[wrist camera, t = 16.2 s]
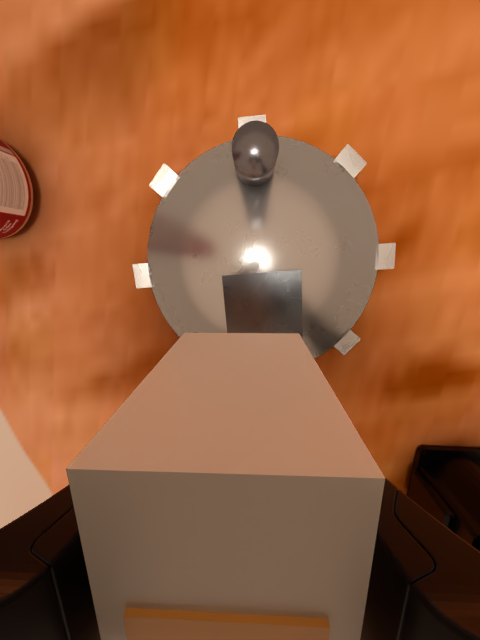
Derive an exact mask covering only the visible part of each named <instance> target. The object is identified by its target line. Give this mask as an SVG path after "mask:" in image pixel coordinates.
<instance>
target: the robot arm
mask: <svg viewBox="0 0 480 640" xmlns="http://www.w3.org/2000/svg"><path fill="white" fill-rule="evenodd" d="M425 452H426V453H425ZM423 453H424V454H423ZM0 640H101V637H100V632H99V627H98V622H97V617H96V612H95V607H94V603H93V598H92V593H91V588H90V583H89V578H88V573H87V568H86V564H85V559H84V554H83V549H82V544H81V539H80V534H79V529H78V525H77V520H76V515H75V510H74V505H73V500H72V495H71V491H70V486H69V485H68V486H66V487H65V488H63V489H62V490H61V491H59V492H58V493H56V494H55V495H53V496H52V497H50V498H49V499H47V500H46V501H44V502H43V503H41V504H40V505H38V506H37V507H35V508H33V509H32V510H30V511H28V512H27V513H25V514H24V515H22V516H20V517H19V518H17V519H16V520H14V521H12V522H11V523H9V524H8V525H6V526H4V527H3V528H1V529H0ZM360 640H480V448H460V447H434V446H422V447H419V448H418V450H417V453H416V458H415V463H414V468H413V472H412V476H411V480H410V485H409V490H408V496H407V495H405V494H404V493H403V492H402V491H401V490H397V487H396V486H395V485H393V484H392V483H391V482H390V481H389V480H387V479H386V478H385V483H384V490H383V496H382V502H381V509H380V515H379V522H378V528H377V535H376V541H375V548H374V554H373V561H372V567H371V573H370V580H369V586H368V593H367V599H366V606H365V612H364V619H363V625H362V632H361V638H360Z"/></svg>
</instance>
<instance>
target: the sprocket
mask: <svg viewBox="0 0 480 640" xmlns="http://www.w3.org/2000/svg"><path fill="white" fill-rule="evenodd" d="M238 126H239V129H238V130H237V132H236V133H235V135H234V137H233V140H232V141H229V142H226V143H223V144H220V145H218V146H216V147H214V148H212V149H210V150H208V151H207V152H205V153H203V154H202V155H201V156H199V157H198V158H196V159H195V160H194V161H192V162H191V163H190V164H189V165H188V166H187V167H186V168H185V169H184V170H182V171H181V172H180V173H179V175H177V174H176V173H175V172H173V171H172V170H171V169H170V168H169V167H168V166H167V165H166V164H165V163H164V164H163V165H162V167H161V168H160V170H159V171H158V173H157V174H156V176H155V177H154V179H153V180H152V182H151V183H150V185H149V186H150V187H151V188H153V189H154V190H155V191H156V192H157V193H158V194H159V195H161V196H162V199H161V201H160V203H159V206H158V208H157V210H156V212H155V215H154V218H153V222H152V225H151V229H150V234H149V241H148V257H147V261H148V263H142V264H132V266H133V271H134V277H135V283H136V288H147V287H152V291H153V293H154V296H155V299H156V302H157V304H158V306H159V308H160V310H161V312H162V314H163V316H164V318H165V319H166V320H167V322H168V323H169V325H170V326H171V328H172V329H173V330H174V331H175V332H176V334H177V335H178V336H179V337H181V336H182V335H183V333H299V334H300V336H301V338H302V339H303V341H304V343H305V344H306V346H307V348H308V349H309V351H310V353H311V354H312V356H313V358H316V357H318V356H320V355H322V354H323V353H325V352H326V351H328V350H329V349H330V348H332V347H333V346H334V347H335V348H336V349H337V350H338V351H339V352H341V353H342V354H343V355H345V354H346V353H347V352H348V351H349V350H350V349H351V348H352V347H354V346H355V345H356V344H357V343H358V342H359V341H360V340H361V339H360V338H359V337H358V336H357V335H356V334H355V333H354V332H353V331H351V330H350V329H351V328H352V327H353V326H354V324H355V323H356V321H357V320H358V319H359V317H360V316H361V314H362V312H363V310H364V308H365V306H366V305H367V303H368V300H369V298H370V295H371V292H372V290H373V287H374V283H375V279H376V275H377V270H382V269H394V264H395V248H396V243H384V244H379V242H378V235H377V228H376V223H375V220H374V217H373V213H372V210H371V208H370V205H369V203H368V201H367V199H366V196H365V194H364V193H363V191H362V190H361V188H360V187H359V185H358V183H357V182H356V180H355V179H354V178H355V177H356V175H357V174H358V173H359V172H360V171H361V170H362V169H363V167H364V166H365V165H366V164H367V163H366V162H365V161H364V160H363V159H362V158H361V157H360V156H359V155H358V153H357V152H356V151H355V150H354V149H353V148H352V147H351V146H350V145H349V144H347V145H346V146H345V147H344V149H343V150H342V151H341V152H340V153H339V154H338V155H337V157H336V158H335V159H334V158H333V157H331V156H330V155H328V154H326V153H325V152H323V151H322V150H320V149H318V148H316V147H314V146H312V145H310V144H307V143H305V142H303V141H299V140H295V139H292V138H288V137H281V136H277V134H276V132H275V131H274V129H273V128H272V127H271V126H270V125H268V124H267V123H266V114H265V115H256V116H248V117H239V118H238Z"/></svg>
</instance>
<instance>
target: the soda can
mask: <svg viewBox="0 0 480 640" xmlns="http://www.w3.org/2000/svg"><path fill="white" fill-rule="evenodd" d="M32 207H33V188H32V183H31V180H30V177H29V174H28V172H27V169H26V167H25V165H24V164H23V162H22V161H21V159H20V158H19V156H18V155H17V154H16V153H15V152H14V151H13V150H12V149H11V148H10V147H9V146H8V145H7V144H6V143H5V142H3V141H2V140H0V239H2V238H6V237H9V236H12V235H14V234H15V233H17V232H18V231H20V230H21V229H22V228H23V227H24V225H25V224H26V223H27V221H28V219H29V217H30V215H31V211H32Z"/></svg>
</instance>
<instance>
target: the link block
mask: <svg viewBox="0 0 480 640" xmlns="http://www.w3.org/2000/svg"><path fill="white" fill-rule="evenodd" d="M66 471H67V476H68V481H69V486H70V491H71V495H72V500H73V505H74V510H75V515H76V520H77V525H78V529H79V534H80V539H81V544H82V549H83V554H84V559H85V564H86V568H87V573H88V578H89V583H90V588H91V593H92V598H93V603H94V607H95V612H96V617H97V622H98V627H99V632H100V637H101V640H360V638H361V632H362V625H363V619H364V612H365V606H366V599H367V593H368V586H369V580H370V573H371V567H372V561H373V554H374V548H375V541H376V535H377V528H378V522H379V515H380V509H381V502H382V496H383V490H384V483H385V477H384V476H383V474H382V472H381V470H380V469H379V467H378V465H377V464H376V462H375V460H374V459H373V457H372V455H371V454H370V452H369V450H368V449H367V447H366V445H365V444H364V442H363V440H362V439H361V437H360V435H359V433H358V432H357V430H356V428H355V427H354V425H353V423H352V422H351V420H350V418H349V417H348V415H347V413H346V412H345V410H344V408H343V407H342V405H341V403H340V402H339V400H338V398H337V396H336V395H335V393H334V391H333V390H332V388H331V386H330V385H329V383H328V381H327V380H326V378H325V376H324V375H323V373H322V371H321V370H320V368H319V366H318V365H317V363H316V361H315V359H314V358H313V356H312V354H311V353H310V351H309V349H308V348H307V346H306V344H305V343H304V341H303V339H302V338H301V336H300V334H299V333H183V335H182V336H181V337H180V338H179V339H178V340H177V342H176V343H175V344H174V345H173V346H172V347H171V348H170V350H169V351H168V352H167V353H166V354H165V355H164V357H163V358H162V359H161V360H160V361H159V362H158V363H157V365H156V366H155V367H154V368H153V369H152V370H151V372H150V373H149V374H148V375H147V376H146V377H145V378H144V380H143V381H142V382H141V383H140V384H139V385H138V387H137V388H136V389H135V390H134V391H133V392H132V393H131V395H130V396H129V397H128V398H127V399H126V400H125V402H124V403H123V404H122V405H121V406H120V407H119V408H118V410H117V411H116V412H115V413H114V414H113V415H112V416H111V418H110V419H109V420H108V421H107V422H106V423H105V425H104V426H103V427H102V428H101V429H100V430H99V431H98V433H97V434H96V435H95V436H94V437H93V438H92V440H91V441H90V442H89V443H88V444H87V445H86V446H85V448H84V449H83V450H82V451H81V452H80V453H79V455H78V456H77V457H76V458H75V459H74V460H73V461H72V463H71V464H70V465H69V466H68V467H67V468H66Z"/></svg>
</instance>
